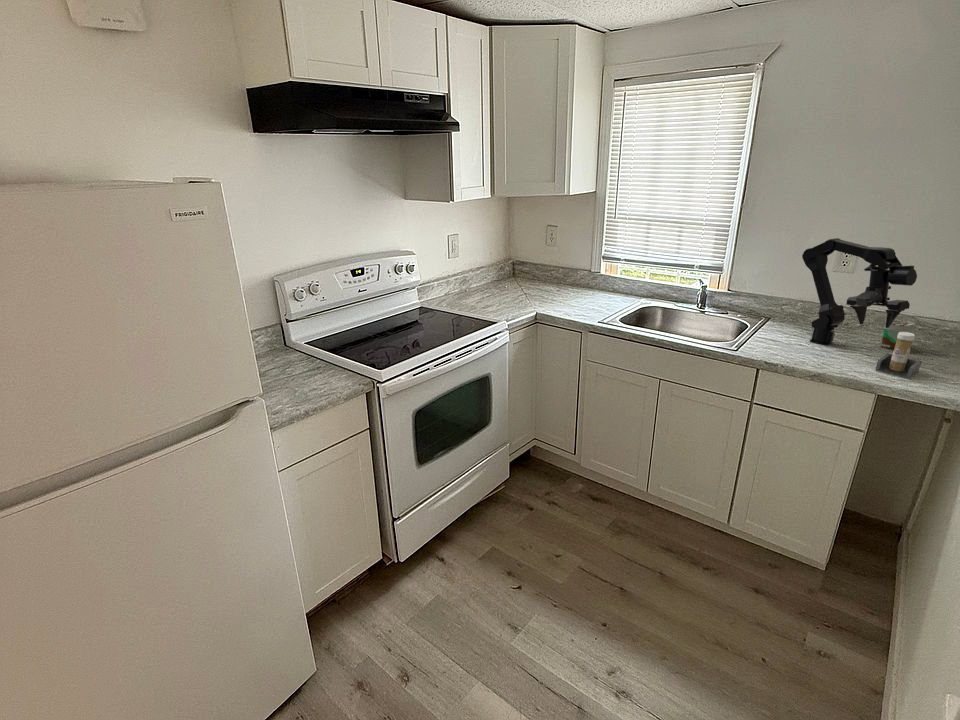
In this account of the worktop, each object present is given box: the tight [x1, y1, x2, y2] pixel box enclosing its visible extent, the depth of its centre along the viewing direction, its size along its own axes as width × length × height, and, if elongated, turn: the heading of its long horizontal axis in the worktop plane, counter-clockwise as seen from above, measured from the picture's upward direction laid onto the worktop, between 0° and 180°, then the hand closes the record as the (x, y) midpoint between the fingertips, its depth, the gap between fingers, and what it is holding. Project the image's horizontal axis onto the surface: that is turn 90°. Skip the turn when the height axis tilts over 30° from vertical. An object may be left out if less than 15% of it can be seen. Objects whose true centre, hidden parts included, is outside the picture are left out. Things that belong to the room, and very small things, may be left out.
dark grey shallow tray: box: [874, 353, 923, 380], centre depth 181 cm, size 10×10×4 cm
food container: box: [880, 320, 916, 351], centre depth 200 cm, size 12×6×10 cm, turn 106°
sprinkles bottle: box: [889, 332, 916, 372], centre depth 179 cm, size 5×5×14 cm
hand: (874, 326), depth 191 cm, fingers open, 9 cm apart
